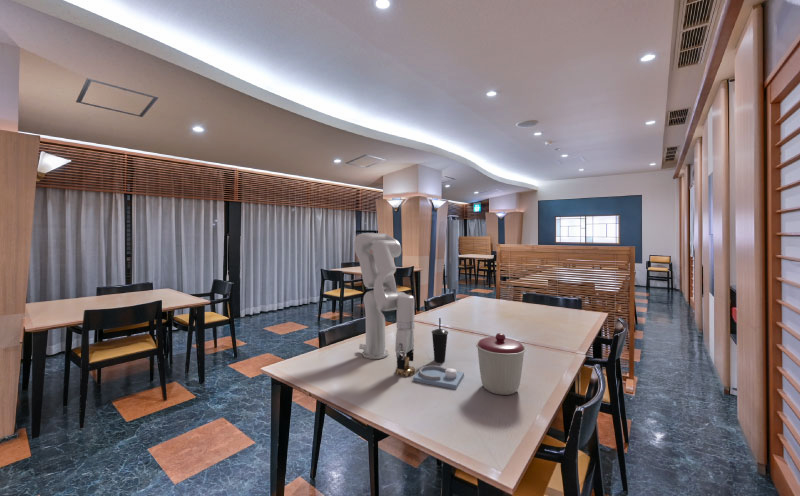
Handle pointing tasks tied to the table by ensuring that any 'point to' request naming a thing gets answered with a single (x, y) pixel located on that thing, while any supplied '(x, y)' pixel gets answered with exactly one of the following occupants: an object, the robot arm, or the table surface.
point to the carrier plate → (439, 376)
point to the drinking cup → (439, 343)
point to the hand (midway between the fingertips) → (405, 364)
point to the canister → (500, 363)
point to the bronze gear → (406, 368)
